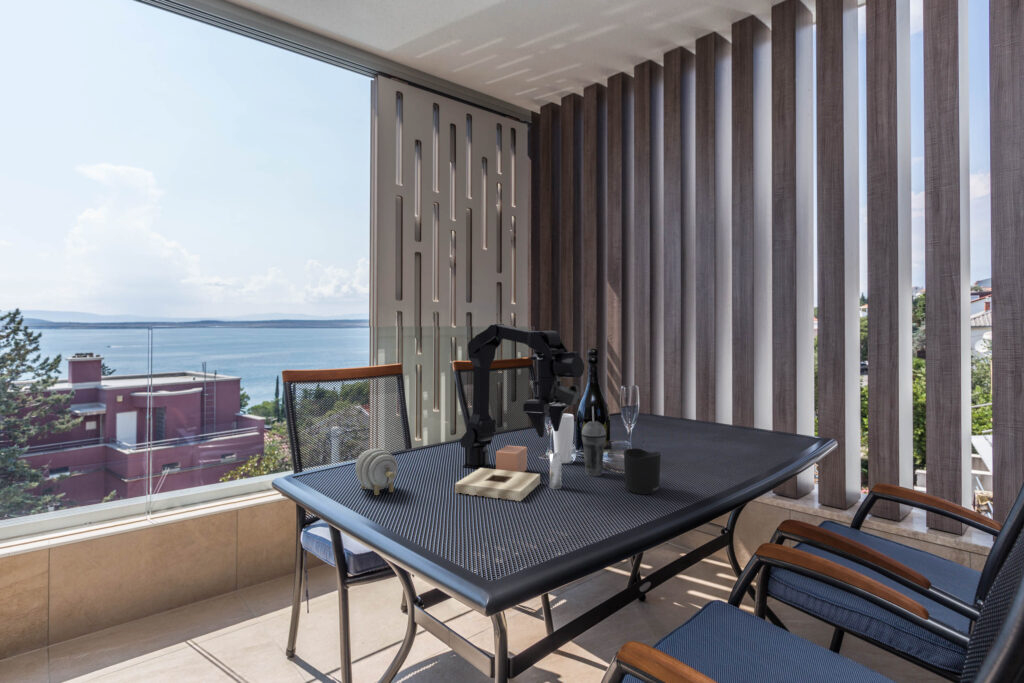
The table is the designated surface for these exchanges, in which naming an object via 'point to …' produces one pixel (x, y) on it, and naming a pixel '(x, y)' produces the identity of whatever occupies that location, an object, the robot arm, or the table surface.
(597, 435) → the beverage cup
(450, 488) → the table surface
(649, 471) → the pen holder
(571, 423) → the drinking glass
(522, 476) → the pin board
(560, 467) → the steel pin
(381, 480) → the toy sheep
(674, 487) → the table surface
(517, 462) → the block
